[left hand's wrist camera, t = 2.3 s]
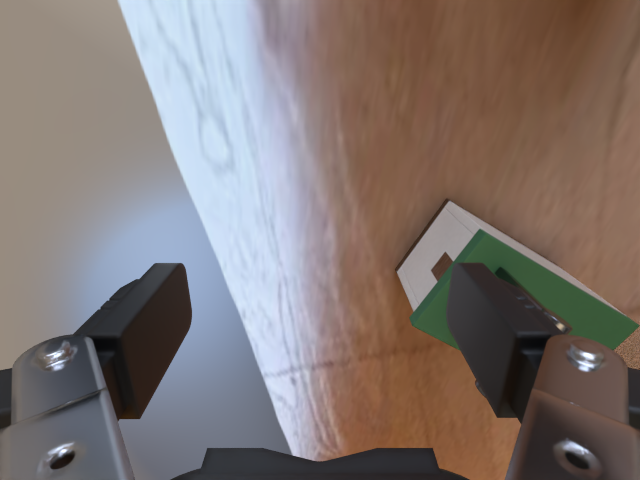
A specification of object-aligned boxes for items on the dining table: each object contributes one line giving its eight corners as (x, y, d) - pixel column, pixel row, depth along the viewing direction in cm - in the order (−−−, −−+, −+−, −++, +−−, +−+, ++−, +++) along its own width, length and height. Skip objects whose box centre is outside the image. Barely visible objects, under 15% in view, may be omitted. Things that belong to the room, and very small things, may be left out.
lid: (408, 317, 31) (440, 399, 23) (479, 228, 28) (546, 284, 20) (551, 391, 34) (625, 487, 26) (628, 317, 31) (740, 399, 23)
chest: (395, 269, 40) (417, 321, 31) (446, 198, 37) (488, 232, 28) (501, 327, 43) (550, 391, 34) (557, 265, 40) (628, 317, 31)
